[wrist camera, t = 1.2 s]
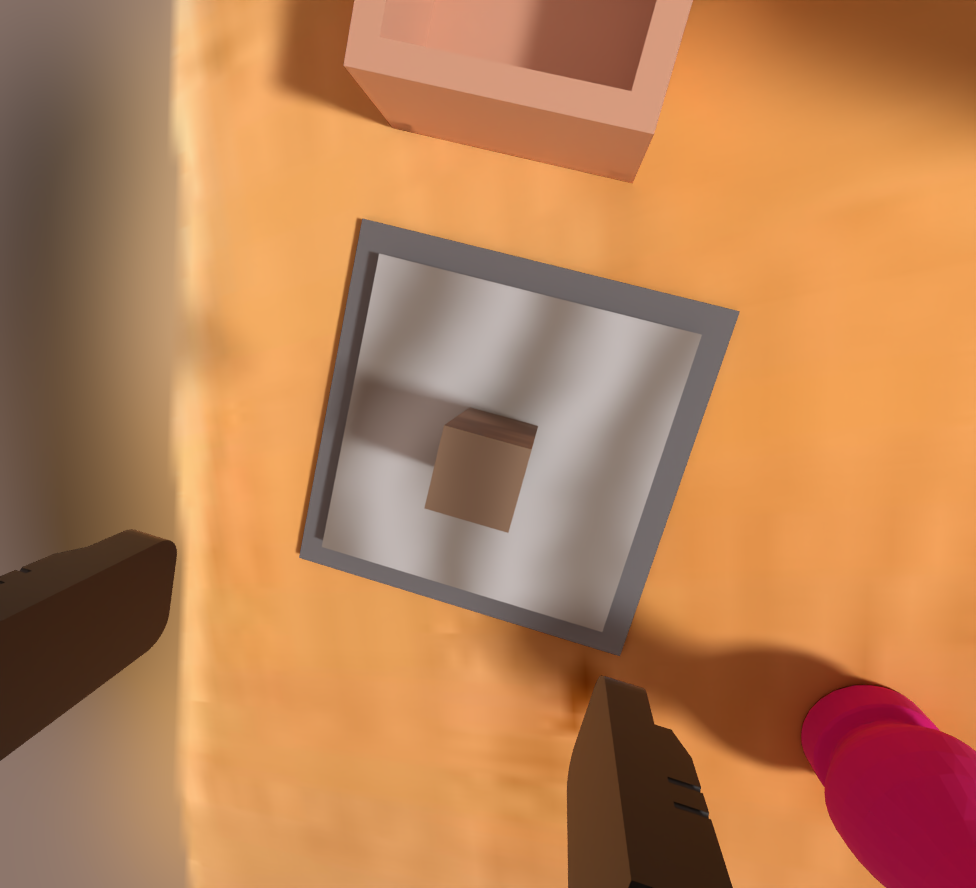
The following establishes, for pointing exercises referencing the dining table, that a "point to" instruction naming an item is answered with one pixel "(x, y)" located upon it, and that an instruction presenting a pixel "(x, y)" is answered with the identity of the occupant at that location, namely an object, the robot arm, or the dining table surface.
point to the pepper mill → (895, 787)
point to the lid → (503, 439)
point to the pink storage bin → (522, 74)
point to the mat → (553, 283)
